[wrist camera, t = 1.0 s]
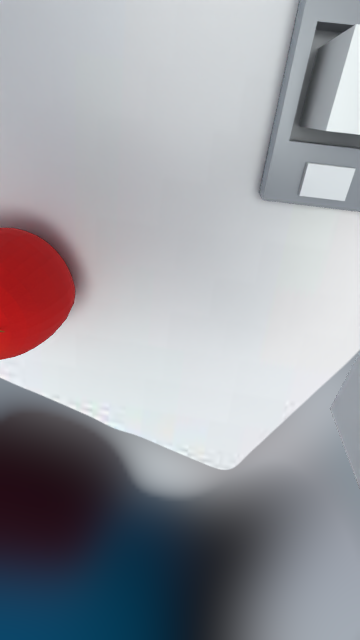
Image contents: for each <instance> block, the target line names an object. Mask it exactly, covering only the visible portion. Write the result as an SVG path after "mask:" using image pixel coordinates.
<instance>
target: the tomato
mask: <svg viewBox="0 0 360 640" xmlns="http://www.w3.org/2000/svg"><path fill="white" fill-rule="evenodd" d="M74 298H75V286H74V283H73V279H72V276H71V273H70V271H69V269H68V267H67V265H66V264H65V262H64V260H63V259H62V258H61V256H60V255H59V254H58V252H57V251H56V250H55V249H54V248H53V247H52V246H51V245H49V244H48V243H47V242H46V241H45V240H43V239H41V238H40V237H38V236H36V235H34V234H32V233H29V232H27V231H24V230H20V229H16V228H0V360H2V359H6V358H11V357H15V356H18V355H21V354H23V353H26V352H27V351H29V350H31V349H33V348H35V347H36V346H38V345H39V344H41V343H42V342H44V341H45V340H46V339H48V338H49V337H50V336H51V335H53V334H54V333H55V331H56V330H57V329H58V328H59V327H60V326H61V325H62V323H63V322H64V321H65V320H66V319H67V316H68V314H69V312H70V310H71V308H72V306H73V304H74Z"/></svg>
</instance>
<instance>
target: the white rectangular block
mask: <svg viewBox="0 0 360 640" xmlns="http://www.w3.org/2000/svg"><path fill="white" fill-rule="evenodd" d="M299 126H300V127H306V128H312V129H318V130H323V131H331V132H340V133H349V134H357V135H360V24H355V25H354V26H352V27H351V28H349V29H348V30H346V31H345V32H343V33H341V34H340V35H338V36H337V37H335V38H334V39H332V40H331V41H329V42H328V43H326V44H324V45H323V46H321V47H320V48H318V52H317V56H316V60H315V64H314V68H313V73H312V77H311V81H310V85H309V89H308V93H307V97H306V101H305V105H304V109H303V113H302V117H301V121H300V125H299Z"/></svg>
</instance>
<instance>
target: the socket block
mask: <svg viewBox="0 0 360 640" xmlns="http://www.w3.org/2000/svg"><path fill="white" fill-rule="evenodd" d="M355 24H360V0H300V1H299V6H298V11H297V15H296V20H295V25H294V30H293V34H292V39H291V44H290V49H289V53H288V58H287V63H286V68H285V72H284V77H283V82H282V87H281V91H280V96H279V101H278V106H277V111H276V115H275V120H274V125H273V130H272V134H271V139H270V144H269V149H268V153H267V158H266V163H265V168H264V172H263V177H262V182H261V187H260V191H259V193H260V195H261V197H262V199H263V200H267V201H275V202H283V203H292V204H300V205H308V206H316V207H325V208H333V209H341V210H349V211H358V212H360V135H357V134H349V133H340V132H331V131H323V130H318V129H312V128H306V127H300V126H299V125H300V121H301V117H302V113H303V109H304V105H305V101H306V97H307V93H308V89H309V85H310V81H311V77H312V73H313V68H314V64H315V60H316V56H317V52H318V48H320V47H321V46H323V45H324V44H326V43H328V42H329V41H331V40H332V39H334V38H335V37H337V36H338V35H340V34H341V33H343V32H345V31H346V30H348V29H349V28H351V27H352V26H354V25H355Z"/></svg>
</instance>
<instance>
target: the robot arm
mask: <svg viewBox="0 0 360 640" xmlns="http://www.w3.org/2000/svg"><path fill="white" fill-rule="evenodd" d="M330 410H331V413H332V416H333V418H334V421H335V424H336V426H337V429H338V432H339V434H340V437H341V440H342V443H343V445H344V448H345V450H346V453H347V456H348V459H349V462H350V464H351V467H352V469H353V472H354V475H355V478H356V480H357V483H358V486H359V489H360V352H359V354H358V356H357V358H356V360H355V362H354V364H353V366H352V368H351V370H350V371H349V373H348V375H347V377H346V379H345V381H344V383H343V385H342V387H341V388H340V391H339V392H338V394H337V396H336V398H335V400H334V402H333V404H332V406H331V407H330Z"/></svg>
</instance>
